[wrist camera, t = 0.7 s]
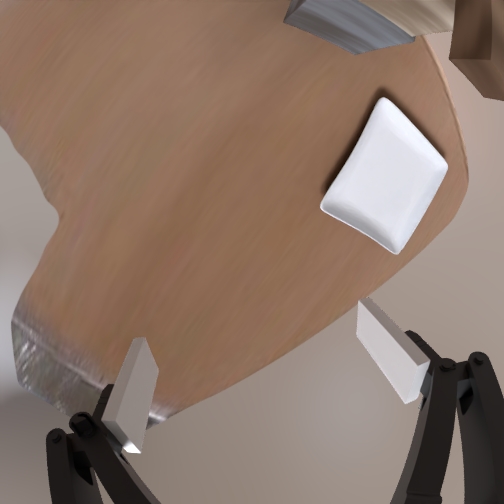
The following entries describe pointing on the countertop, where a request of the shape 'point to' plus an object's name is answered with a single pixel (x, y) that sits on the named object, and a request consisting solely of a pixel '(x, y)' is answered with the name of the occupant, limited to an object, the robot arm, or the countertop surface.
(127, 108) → the countertop surface
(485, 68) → the walnut bar
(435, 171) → the salad plate
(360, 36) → the tower
